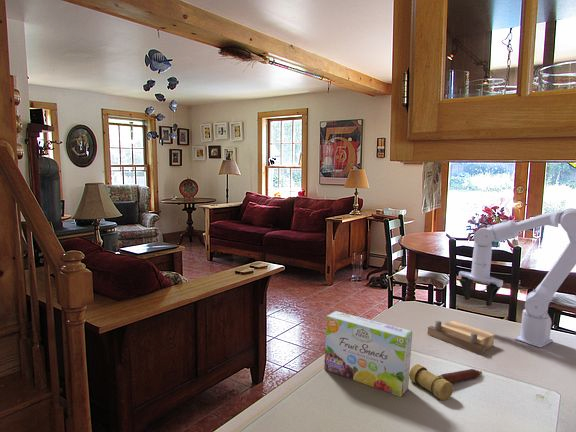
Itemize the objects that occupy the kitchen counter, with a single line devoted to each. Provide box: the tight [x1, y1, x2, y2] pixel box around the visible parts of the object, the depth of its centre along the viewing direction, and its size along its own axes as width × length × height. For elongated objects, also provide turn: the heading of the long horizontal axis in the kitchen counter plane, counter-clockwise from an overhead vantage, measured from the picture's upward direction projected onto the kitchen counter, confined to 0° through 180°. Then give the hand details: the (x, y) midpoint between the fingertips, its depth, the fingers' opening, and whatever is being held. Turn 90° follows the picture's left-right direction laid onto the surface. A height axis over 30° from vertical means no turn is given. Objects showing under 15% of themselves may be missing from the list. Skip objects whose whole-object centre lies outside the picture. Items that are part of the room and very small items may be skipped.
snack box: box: [324, 310, 413, 398], centre depth 105 cm, size 21×6×15 cm, turn 55°
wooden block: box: [441, 320, 495, 351], centre depth 133 cm, size 8×14×4 cm, turn 37°
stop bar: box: [427, 320, 485, 356], centre depth 131 cm, size 2×18×5 cm, turn 37°
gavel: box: [409, 364, 483, 401], centre depth 106 cm, size 21×5×10 cm
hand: (477, 302), depth 143 cm, fingers open, 7 cm apart
